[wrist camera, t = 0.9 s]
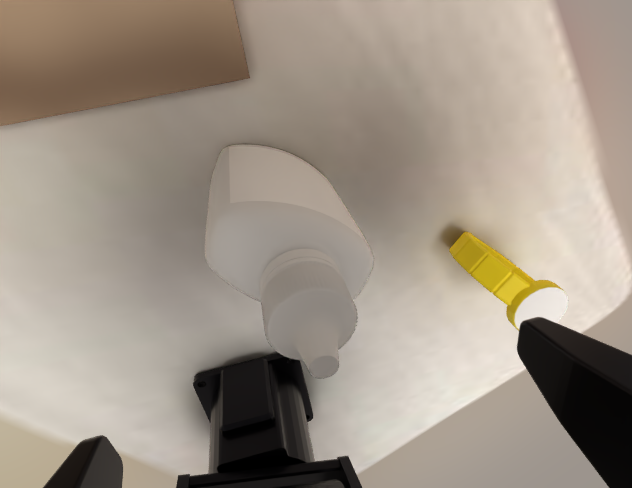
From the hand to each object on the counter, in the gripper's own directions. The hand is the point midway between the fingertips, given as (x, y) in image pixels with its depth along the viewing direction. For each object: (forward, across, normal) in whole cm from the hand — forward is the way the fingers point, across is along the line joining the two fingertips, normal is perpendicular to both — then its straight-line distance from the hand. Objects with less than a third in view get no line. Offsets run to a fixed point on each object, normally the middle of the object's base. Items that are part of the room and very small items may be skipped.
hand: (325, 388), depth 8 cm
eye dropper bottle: (+13, 0, 0) cm, 13 cm away
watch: (+13, -11, +7) cm, 18 cm away
